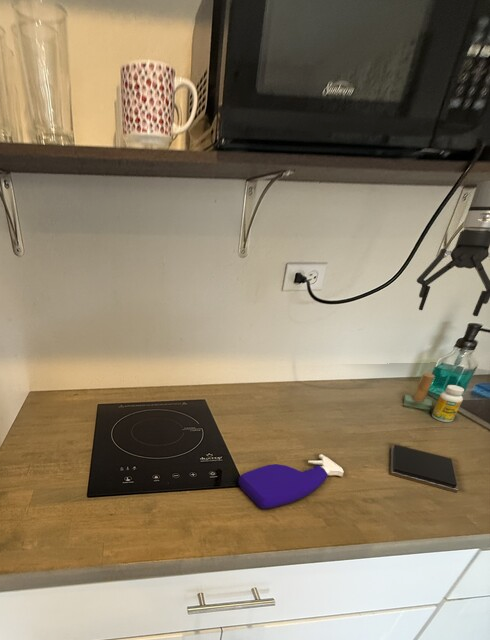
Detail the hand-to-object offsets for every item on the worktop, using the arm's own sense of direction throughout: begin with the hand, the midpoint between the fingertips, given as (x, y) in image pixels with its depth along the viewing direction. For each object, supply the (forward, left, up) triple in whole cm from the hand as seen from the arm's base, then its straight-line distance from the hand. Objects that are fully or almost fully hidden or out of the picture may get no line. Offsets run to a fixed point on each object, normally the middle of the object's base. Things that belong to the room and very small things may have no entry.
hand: (447, 312), depth 113 cm
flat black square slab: (0, +47, -26) cm, 54 cm away
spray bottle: (+26, +67, -26) cm, 76 cm away
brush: (0, +12, -26) cm, 28 cm away
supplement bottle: (-6, +16, -26) cm, 31 cm away
